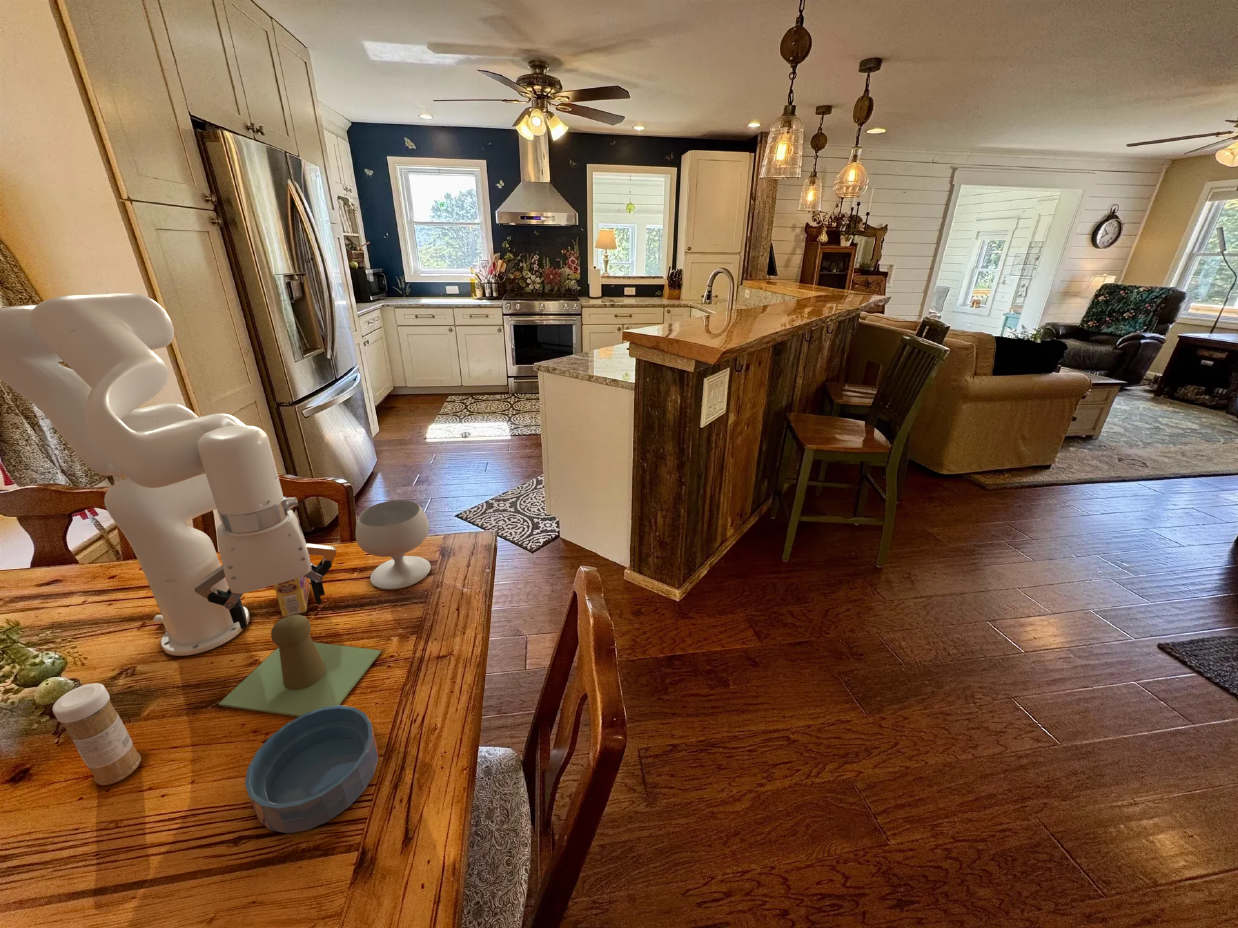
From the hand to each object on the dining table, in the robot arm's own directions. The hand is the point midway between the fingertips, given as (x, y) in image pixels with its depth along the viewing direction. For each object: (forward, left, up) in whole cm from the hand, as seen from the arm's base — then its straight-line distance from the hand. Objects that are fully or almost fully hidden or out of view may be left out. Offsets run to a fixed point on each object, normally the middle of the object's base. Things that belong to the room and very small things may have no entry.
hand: (282, 610), depth 76 cm
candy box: (-14, +17, -13) cm, 26 cm away
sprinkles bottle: (-12, -18, -13) cm, 26 cm away
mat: (+1, 0, -13) cm, 13 cm away
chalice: (+1, +29, -13) cm, 32 cm away
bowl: (+15, -15, -13) cm, 25 cm away
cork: (+1, 0, -13) cm, 13 cm away
